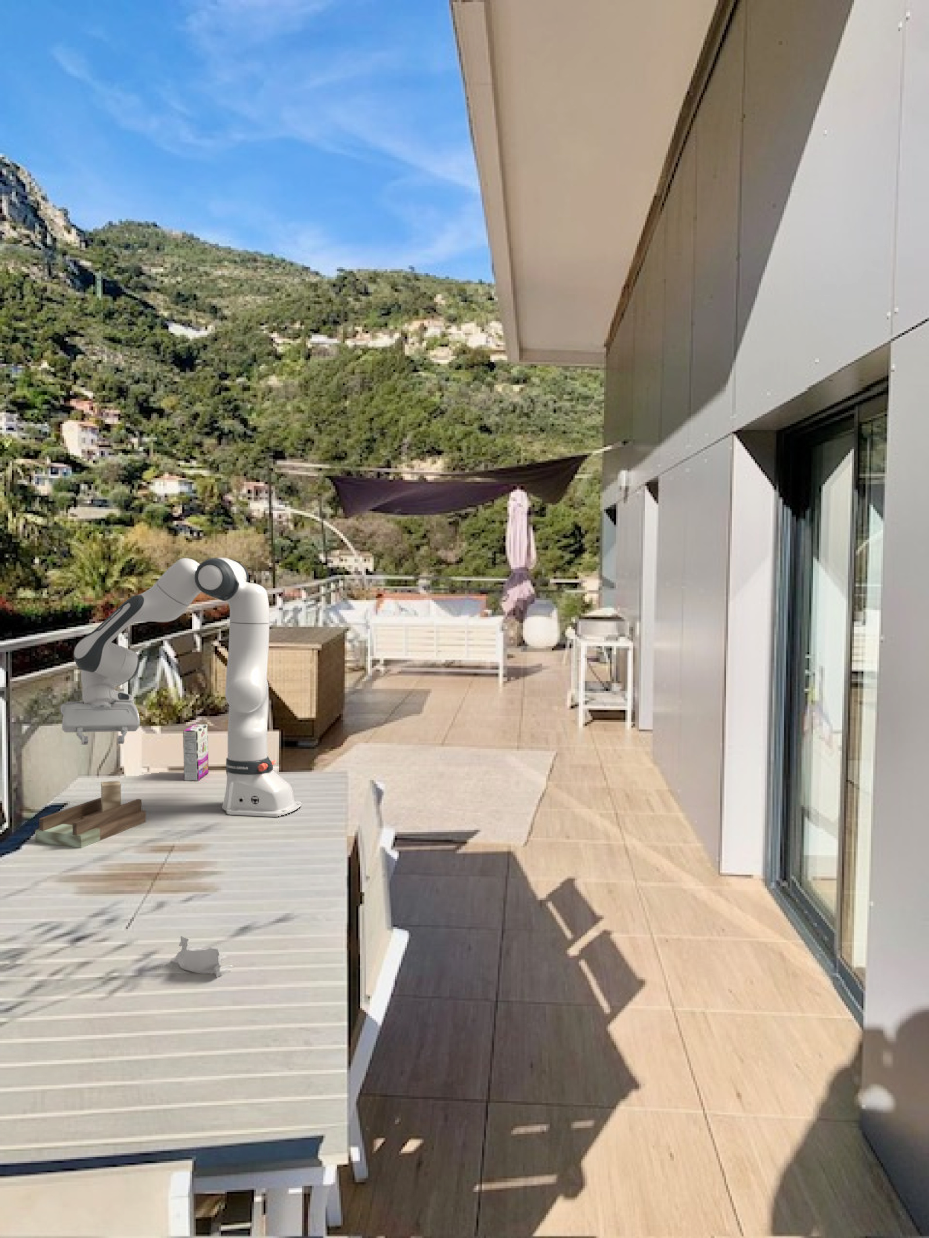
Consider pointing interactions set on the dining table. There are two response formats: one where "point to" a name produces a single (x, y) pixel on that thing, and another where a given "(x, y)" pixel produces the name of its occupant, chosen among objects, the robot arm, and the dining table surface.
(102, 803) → the beech block
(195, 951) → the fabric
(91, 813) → the channel deck
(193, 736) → the candy bar box
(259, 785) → the robot arm
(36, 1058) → the dining table surface
